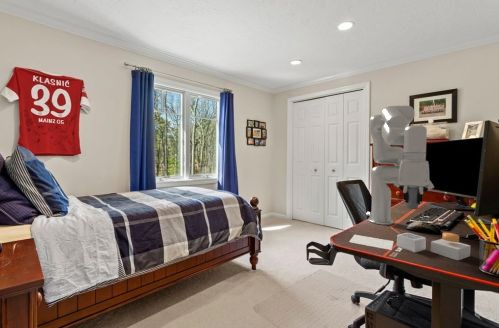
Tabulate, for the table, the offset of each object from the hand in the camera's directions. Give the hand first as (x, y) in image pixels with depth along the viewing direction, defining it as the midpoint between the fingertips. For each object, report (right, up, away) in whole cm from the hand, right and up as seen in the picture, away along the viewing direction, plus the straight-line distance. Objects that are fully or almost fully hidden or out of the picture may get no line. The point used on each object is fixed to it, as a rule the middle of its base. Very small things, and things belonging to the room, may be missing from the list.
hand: (412, 202), depth 102 cm
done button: (+12, -14, -5) cm, 18 cm away
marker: (0, -2, 0) cm, 2 cm away
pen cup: (0, -19, +1) cm, 19 cm away
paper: (-13, -18, +8) cm, 24 cm away
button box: (+12, -19, -4) cm, 23 cm away
